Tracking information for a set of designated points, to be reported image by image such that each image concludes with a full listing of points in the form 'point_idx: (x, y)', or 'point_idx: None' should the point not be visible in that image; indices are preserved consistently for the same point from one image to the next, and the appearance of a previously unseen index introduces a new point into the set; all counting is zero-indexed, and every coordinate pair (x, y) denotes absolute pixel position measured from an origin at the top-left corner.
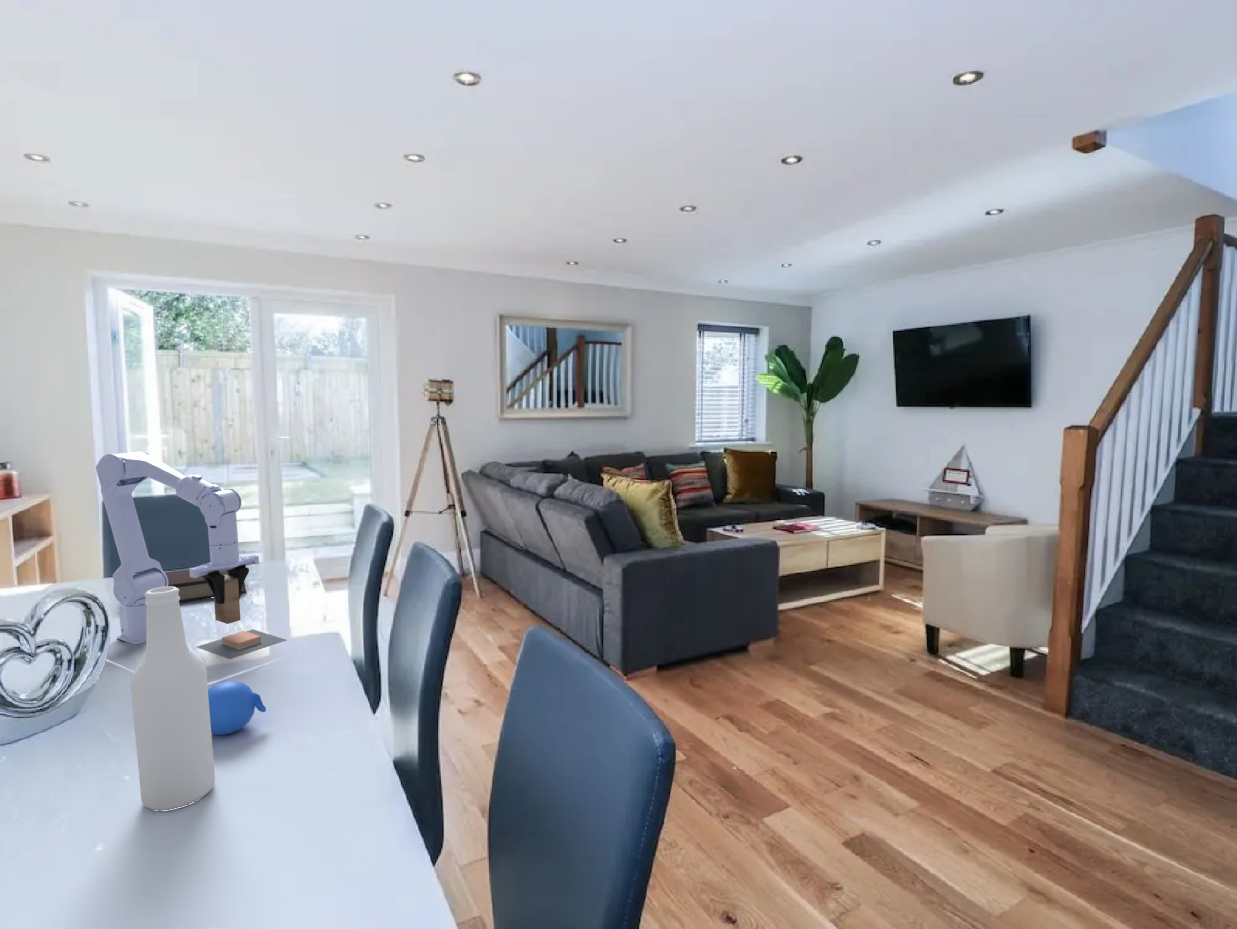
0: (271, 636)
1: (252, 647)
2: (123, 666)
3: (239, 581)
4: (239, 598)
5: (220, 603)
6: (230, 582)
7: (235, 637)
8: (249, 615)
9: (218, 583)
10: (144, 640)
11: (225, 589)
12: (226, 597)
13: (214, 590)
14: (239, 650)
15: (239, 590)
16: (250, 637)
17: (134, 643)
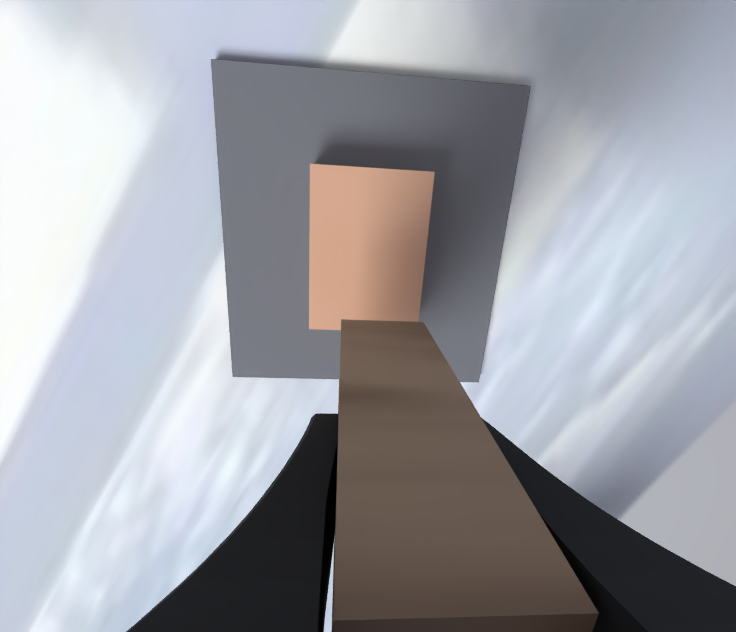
0: (232, 201)
1: (379, 134)
2: (682, 424)
3: (306, 550)
4: (316, 416)
5: (484, 422)
6: (467, 564)
7: (387, 272)
8: (146, 549)
9: (701, 589)
10: None
11: (516, 485)
12: (472, 418)
13: None
14: (434, 157)
15: (314, 459)
16: (351, 196)
17: None
